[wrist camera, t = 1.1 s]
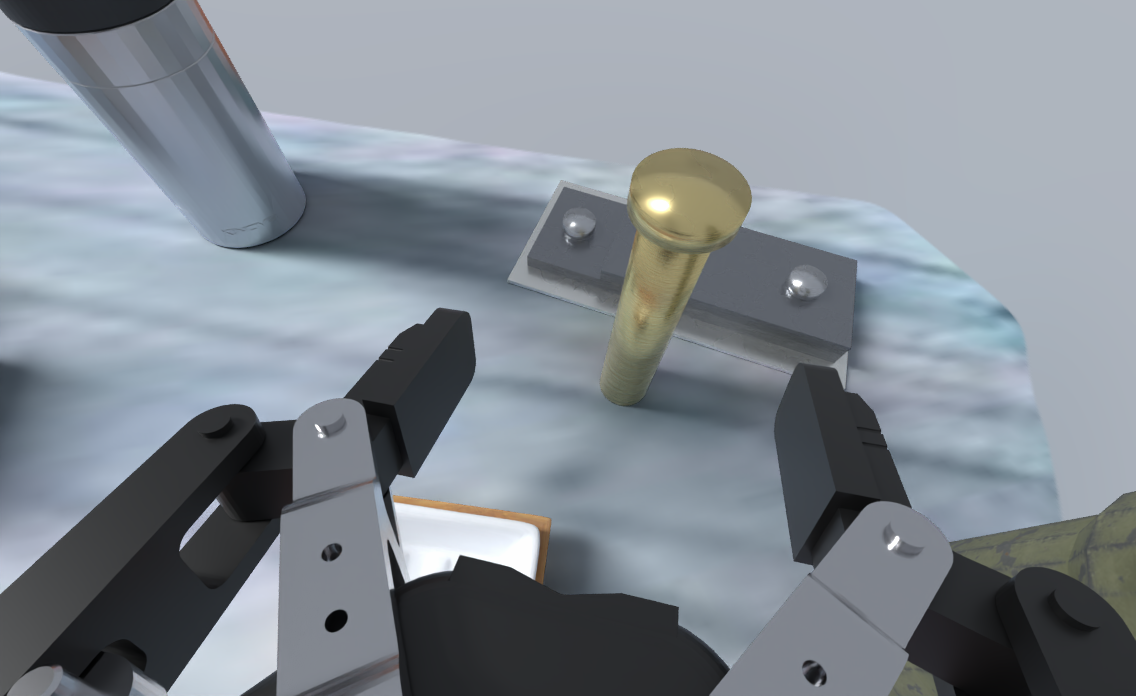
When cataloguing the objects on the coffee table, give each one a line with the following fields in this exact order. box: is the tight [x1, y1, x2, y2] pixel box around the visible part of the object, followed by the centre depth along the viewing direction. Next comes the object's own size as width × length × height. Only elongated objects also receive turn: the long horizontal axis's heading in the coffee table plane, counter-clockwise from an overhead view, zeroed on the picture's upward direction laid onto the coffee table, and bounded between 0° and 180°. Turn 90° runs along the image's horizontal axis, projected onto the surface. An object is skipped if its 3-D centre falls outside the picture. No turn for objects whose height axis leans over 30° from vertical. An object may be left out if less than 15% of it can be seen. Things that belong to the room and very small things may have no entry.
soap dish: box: [393, 495, 551, 584], centre depth 27 cm, size 12×10×5 cm
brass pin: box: [600, 148, 752, 406], centre depth 28 cm, size 5×5×19 cm
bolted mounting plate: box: [507, 180, 857, 390], centre depth 40 cm, size 28×13×4 cm, turn 70°
